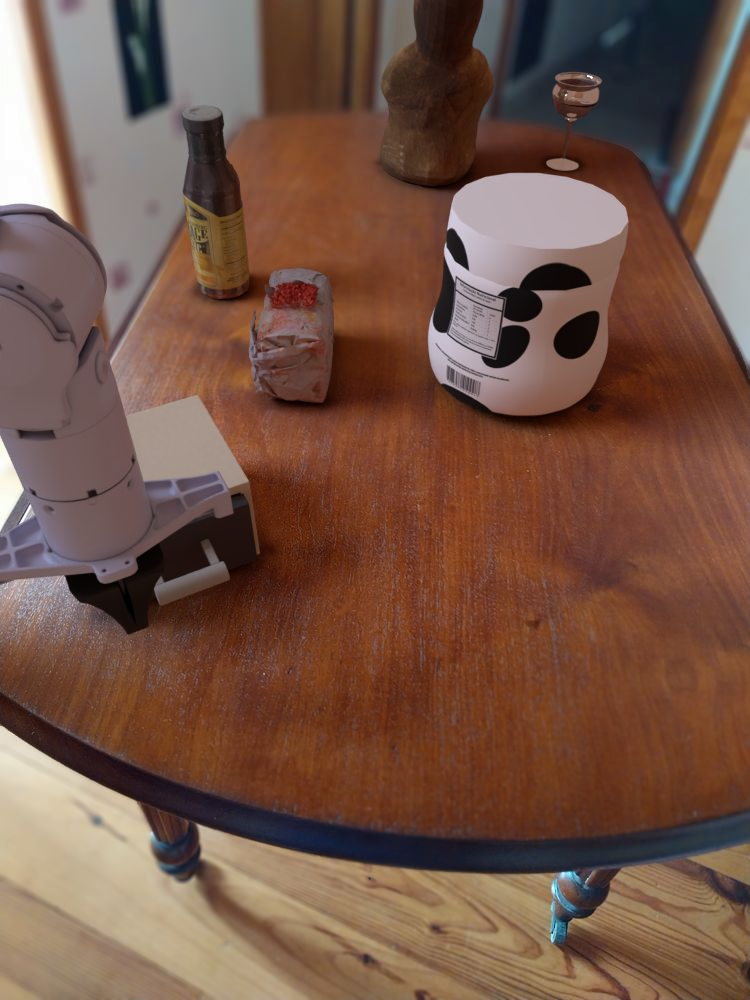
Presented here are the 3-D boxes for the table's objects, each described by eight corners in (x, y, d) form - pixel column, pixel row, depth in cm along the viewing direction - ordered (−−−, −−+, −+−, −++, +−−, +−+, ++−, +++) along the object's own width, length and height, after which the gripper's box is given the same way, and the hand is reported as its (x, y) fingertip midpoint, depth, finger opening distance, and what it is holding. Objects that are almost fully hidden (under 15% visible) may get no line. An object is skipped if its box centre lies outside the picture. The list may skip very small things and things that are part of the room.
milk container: (585, 337, 83) (626, 172, 70) (605, 439, 71) (659, 262, 58) (428, 328, 84) (440, 163, 71) (421, 427, 71) (435, 250, 59)
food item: (334, 412, 73) (331, 324, 66) (252, 412, 73) (240, 324, 66) (336, 334, 83) (334, 250, 76) (264, 334, 82) (254, 250, 75)
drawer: (277, 595, 56) (269, 539, 52) (125, 655, 52) (103, 600, 48) (213, 477, 65) (202, 420, 61) (79, 521, 61) (57, 464, 57)
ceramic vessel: (472, 147, 121) (496, -87, 100) (496, 207, 106) (530, -55, 84) (375, 148, 120) (378, -87, 99) (384, 208, 105) (390, -55, 83)
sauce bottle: (192, 281, 90) (160, 103, 76) (242, 271, 92) (220, 95, 78) (207, 308, 86) (177, 125, 72) (259, 297, 88) (240, 116, 74)
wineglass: (534, 157, 119) (548, 72, 110) (575, 154, 119) (591, 71, 111) (548, 174, 114) (564, 87, 105) (591, 171, 115) (609, 85, 106)
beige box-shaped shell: (260, 554, 60) (249, 481, 54) (102, 613, 56) (72, 541, 50) (212, 466, 67) (198, 394, 62) (69, 512, 63) (39, 439, 57)
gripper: (-68, 567, 33) (27, 718, 43) (240, 466, 38) (263, 622, 48) (-83, 470, 38) (6, 627, 47) (196, 391, 43) (225, 548, 52)
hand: (134, 619), depth 48 cm, fingers closed
